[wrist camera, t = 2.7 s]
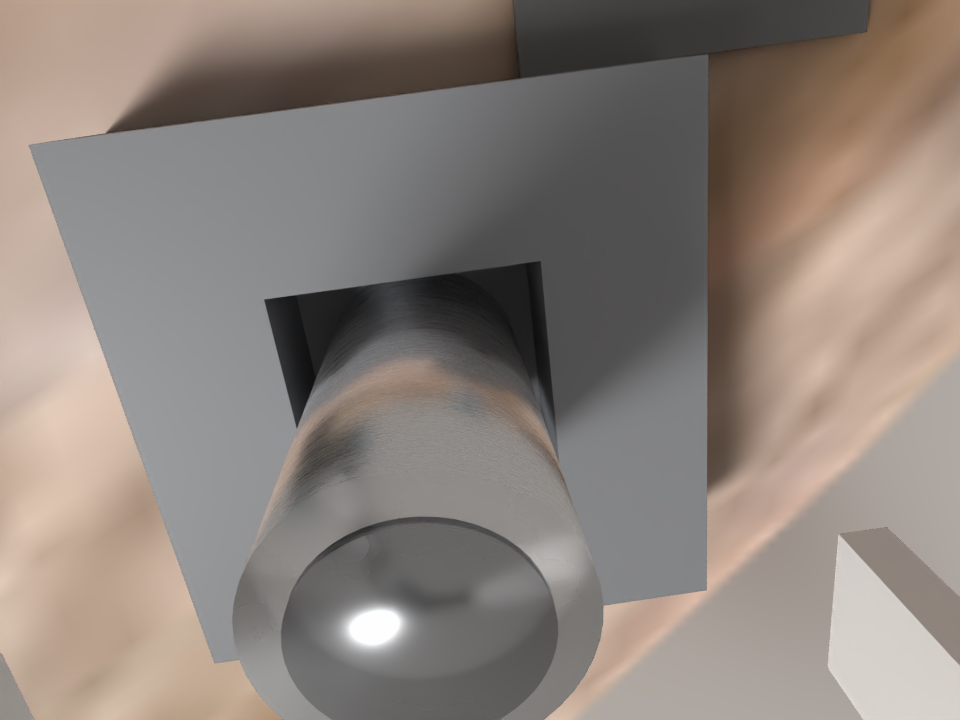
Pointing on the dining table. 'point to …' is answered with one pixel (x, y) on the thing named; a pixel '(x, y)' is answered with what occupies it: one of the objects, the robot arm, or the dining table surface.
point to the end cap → (419, 528)
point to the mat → (667, 29)
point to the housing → (401, 256)
